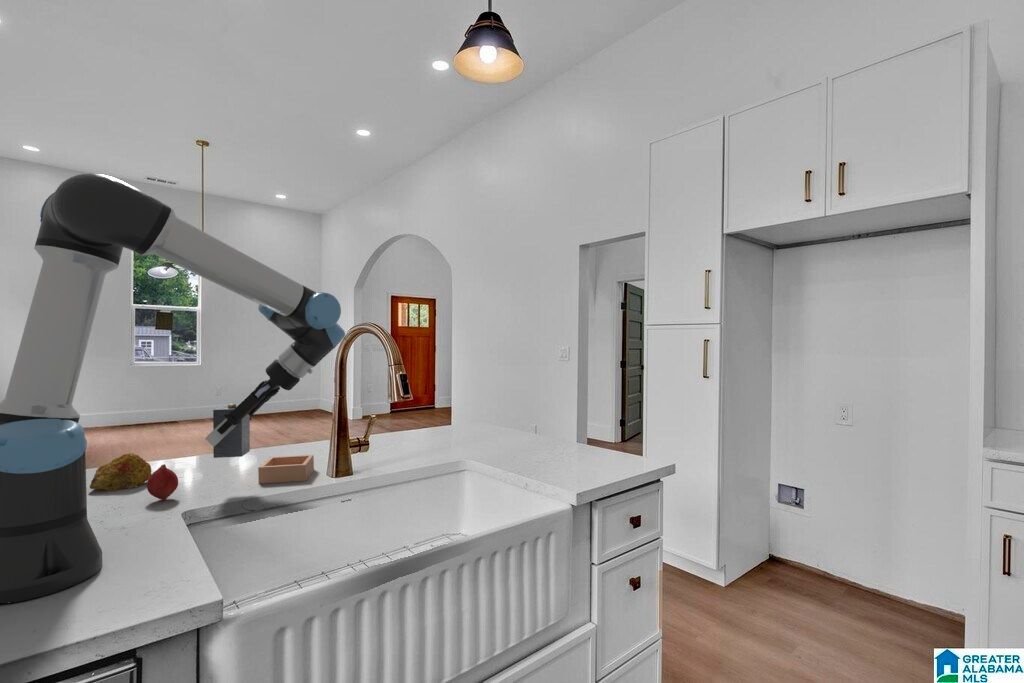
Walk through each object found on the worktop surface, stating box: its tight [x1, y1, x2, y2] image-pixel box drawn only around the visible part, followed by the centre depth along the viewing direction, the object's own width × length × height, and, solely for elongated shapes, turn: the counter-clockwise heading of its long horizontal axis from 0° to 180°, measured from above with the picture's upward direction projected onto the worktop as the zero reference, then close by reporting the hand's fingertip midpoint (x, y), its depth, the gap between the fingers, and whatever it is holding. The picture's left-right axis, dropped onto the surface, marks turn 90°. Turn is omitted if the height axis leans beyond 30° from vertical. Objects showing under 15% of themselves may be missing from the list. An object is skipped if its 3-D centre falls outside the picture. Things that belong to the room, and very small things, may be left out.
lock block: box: [212, 403, 251, 459], centre depth 121 cm, size 6×6×12 cm
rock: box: [89, 452, 152, 492], centre depth 126 cm, size 11×8×10 cm
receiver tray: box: [257, 454, 315, 484], centre depth 133 cm, size 11×11×4 cm
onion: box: [146, 463, 179, 501], centre depth 115 cm, size 6×6×8 cm
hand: (215, 439), depth 121 cm, fingers closed on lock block, 6 cm apart
